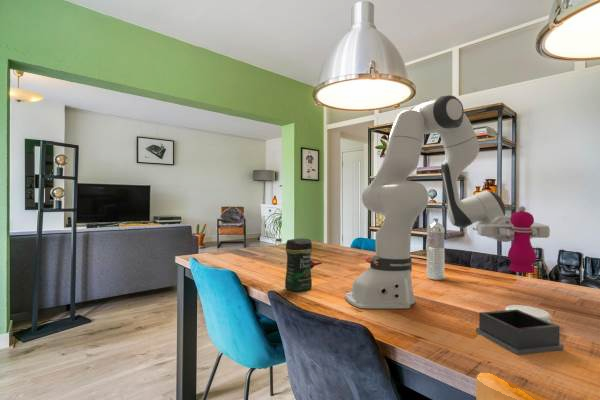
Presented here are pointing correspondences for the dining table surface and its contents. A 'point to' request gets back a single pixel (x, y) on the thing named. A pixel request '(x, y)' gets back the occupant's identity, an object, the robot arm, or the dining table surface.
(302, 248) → the coffee jar
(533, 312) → the coaster
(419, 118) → the robot arm
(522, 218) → the pepper mill
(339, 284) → the dining table surface
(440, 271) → the water bottle
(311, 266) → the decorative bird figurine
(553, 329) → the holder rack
